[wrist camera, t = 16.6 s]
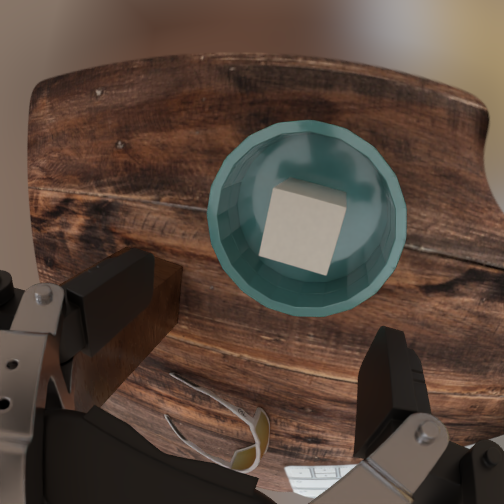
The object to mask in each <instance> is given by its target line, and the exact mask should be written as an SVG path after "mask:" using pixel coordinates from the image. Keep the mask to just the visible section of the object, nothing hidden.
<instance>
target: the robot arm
mask: <svg viewBox="0 0 504 504" xmlns="http://www.w3.org/2000/svg"><path fill="white" fill-rule="evenodd" d="M154 266H155V258H154V255H153V254H152V253H149V252H146V251H143V250H140V249H137V248H132V249H130V250H128V251H127V252H125V253H123V254H121V255H120V256H117V257H113V258H109V259H106V260H104V261H102V262H100V263H99V264H97V265H96V266H95V267H92V268H90V269H88V271H85V272H83V273H82V274H80V275H78V276H77V277H75V278H73V279H72V280H70V281H68V282H67V283H65V284H64V285H62V286H59V285H57V284H54V283H39V284H35V285H33V286H31V287H29V288H28V289H27V290H26V291H25V290H21V289H17V288H14V287H13V283H12V277H11V275H10V274H9V273H8V272H6V271H1V270H0V504H277V503H275V502H274V501H273V500H272V499H271V498H269V497H268V496H266V495H265V494H263V493H261V492H260V491H258V490H256V489H255V488H256V485H257V482H258V479H259V478H257V477H253V476H250V475H247V474H244V473H241V472H238V471H235V470H232V469H229V468H226V467H223V466H220V465H218V464H215V463H210V462H204V461H198V460H193V459H187V458H182V457H177V456H173V455H168V454H165V453H163V452H162V451H160V450H159V449H158V448H156V447H155V446H154V445H153V444H151V443H150V442H149V441H148V440H146V439H145V438H144V437H143V436H142V435H140V434H139V433H138V432H137V431H136V430H135V429H134V428H132V427H131V426H130V425H129V424H127V423H125V422H123V421H122V420H120V419H118V418H116V417H115V416H113V415H111V414H109V413H108V412H106V411H104V410H103V409H101V408H99V407H98V406H96V405H94V406H93V407H92V408H91V409H90V410H89V411H88V412H87V413H84V412H80V411H76V410H75V405H74V394H75V374H76V356H75V354H77V353H78V352H79V351H81V352H83V353H84V354H86V355H88V356H89V357H91V358H92V357H93V356H94V355H95V354H96V353H97V352H99V351H100V350H101V349H102V348H103V347H104V346H105V345H106V344H107V343H108V342H109V341H110V340H112V339H113V338H114V337H115V336H116V335H117V334H118V333H119V332H120V331H121V330H123V329H124V328H125V327H126V326H127V325H128V324H129V323H130V322H131V321H132V320H134V319H135V318H136V317H137V316H138V315H139V314H140V313H141V312H142V311H144V310H145V309H146V308H147V307H148V305H149V304H150V302H151V300H152V296H153V288H154ZM353 457H357V458H363V459H364V460H362V461H361V462H360V463H359V464H358V465H356V466H355V467H354V468H353V469H352V470H351V471H350V472H348V473H347V474H346V475H345V476H344V477H342V478H341V479H340V480H339V481H337V482H336V483H335V484H334V485H332V486H331V487H330V488H329V489H327V490H326V491H325V492H323V493H322V494H321V495H319V496H318V497H317V498H315V499H314V500H313V501H311V502H310V503H308V504H504V451H503V450H502V448H501V447H500V446H499V445H498V444H496V443H495V442H493V441H491V440H480V441H478V442H477V443H476V444H475V445H474V446H473V447H472V448H471V449H468V448H465V447H463V446H460V445H458V444H456V443H453V442H451V441H449V434H448V431H447V429H446V427H445V425H444V424H443V423H442V422H441V421H440V420H439V419H438V418H436V417H435V416H433V415H431V409H430V403H429V398H428V393H427V388H426V384H425V378H424V374H423V369H422V365H421V361H420V359H419V358H418V356H417V355H416V353H415V352H414V350H413V349H409V348H407V344H406V340H405V335H404V332H403V331H400V330H396V329H393V328H389V327H385V326H381V327H380V329H379V330H378V332H377V334H376V336H375V338H374V340H373V342H372V344H371V346H370V348H369V350H368V352H367V354H366V356H365V358H364V360H363V362H362V365H361V367H360V371H359V375H358V392H357V414H356V430H355V443H354V454H353Z"/></svg>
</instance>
